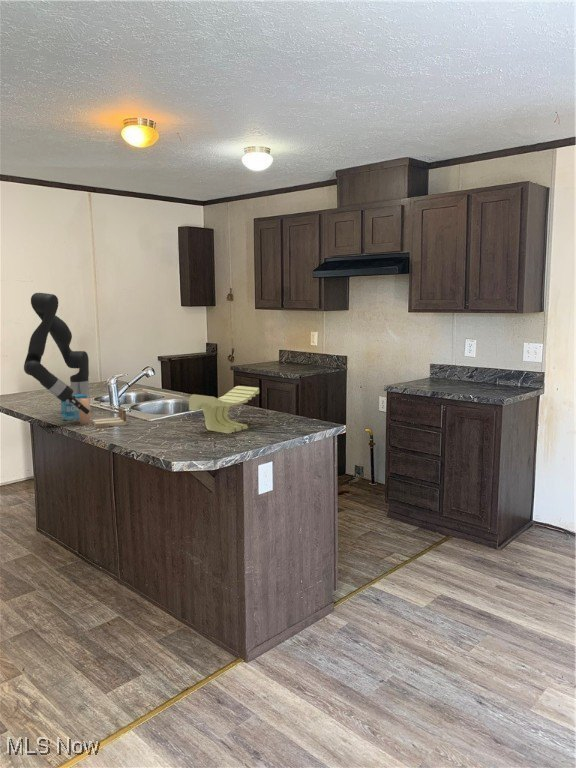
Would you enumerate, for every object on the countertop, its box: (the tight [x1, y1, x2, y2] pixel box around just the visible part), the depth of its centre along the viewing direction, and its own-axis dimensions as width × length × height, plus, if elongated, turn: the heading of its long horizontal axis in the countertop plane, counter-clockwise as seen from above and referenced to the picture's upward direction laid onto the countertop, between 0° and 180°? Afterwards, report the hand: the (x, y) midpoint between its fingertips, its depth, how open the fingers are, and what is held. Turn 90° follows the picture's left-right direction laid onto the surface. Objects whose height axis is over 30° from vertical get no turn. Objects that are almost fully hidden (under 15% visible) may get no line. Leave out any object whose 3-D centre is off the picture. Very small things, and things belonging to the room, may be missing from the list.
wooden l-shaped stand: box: [91, 406, 127, 429], centre depth 285 cm, size 12×14×7 cm
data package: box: [60, 394, 87, 422], centre depth 299 cm, size 12×4×12 cm, turn 133°
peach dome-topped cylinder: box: [78, 398, 92, 425], centre depth 289 cm, size 5×5×12 cm
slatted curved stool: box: [188, 385, 260, 434], centre depth 271 cm, size 30×16×18 cm, turn 143°
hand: (87, 411), depth 290 cm, fingers open, 8 cm apart
